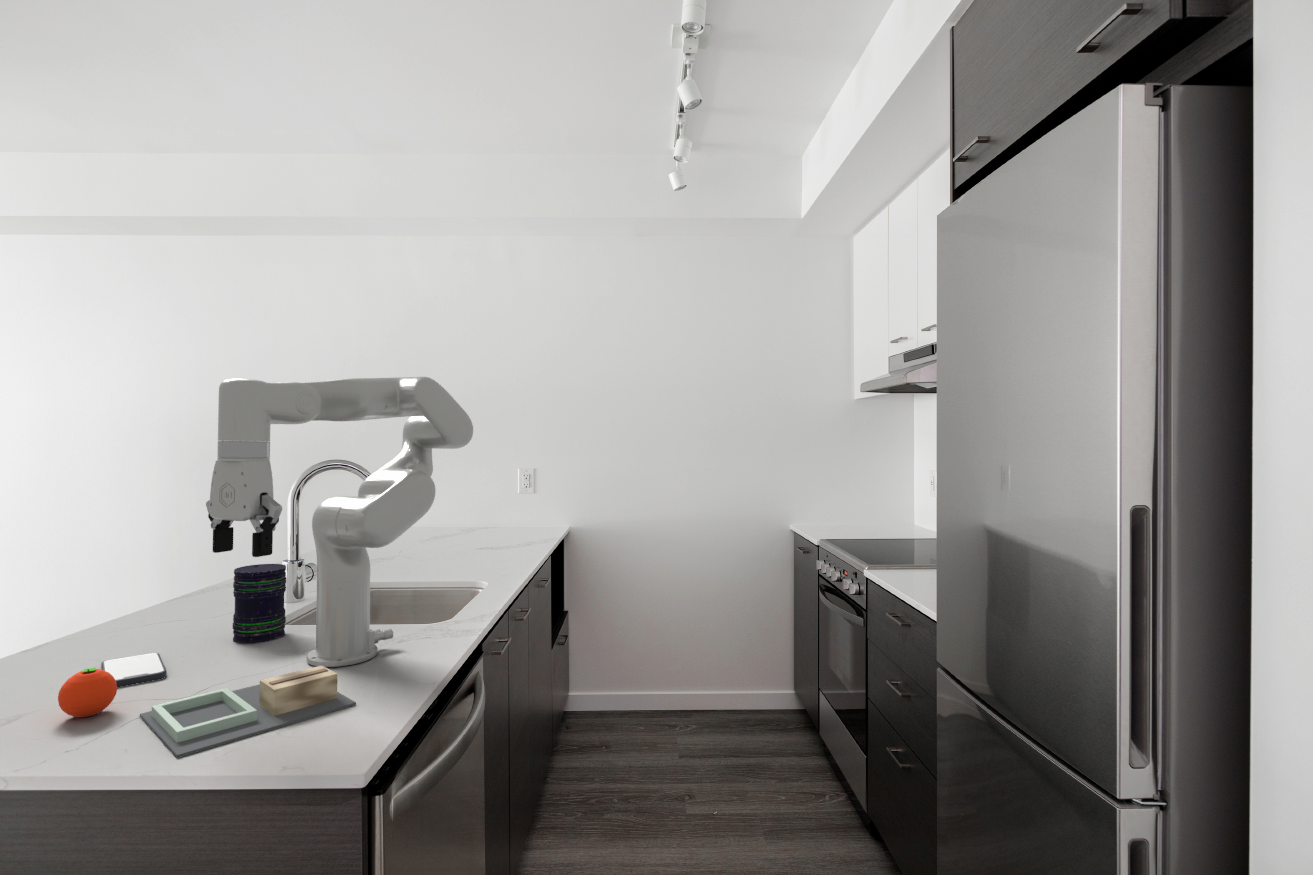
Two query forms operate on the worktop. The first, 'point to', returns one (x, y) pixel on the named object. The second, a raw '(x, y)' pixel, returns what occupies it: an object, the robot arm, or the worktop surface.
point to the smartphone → (135, 669)
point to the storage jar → (259, 603)
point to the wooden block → (297, 690)
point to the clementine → (87, 692)
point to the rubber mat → (241, 731)
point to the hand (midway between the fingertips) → (242, 553)
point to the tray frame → (181, 734)
